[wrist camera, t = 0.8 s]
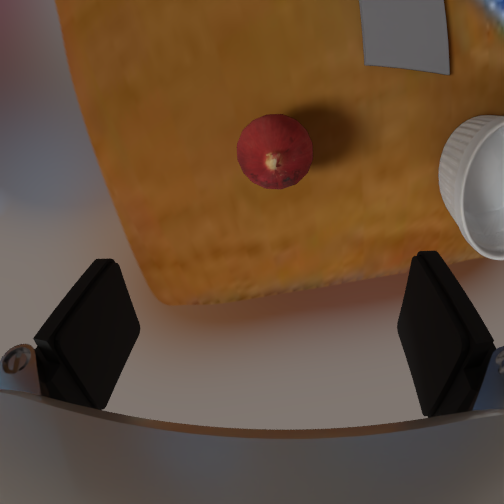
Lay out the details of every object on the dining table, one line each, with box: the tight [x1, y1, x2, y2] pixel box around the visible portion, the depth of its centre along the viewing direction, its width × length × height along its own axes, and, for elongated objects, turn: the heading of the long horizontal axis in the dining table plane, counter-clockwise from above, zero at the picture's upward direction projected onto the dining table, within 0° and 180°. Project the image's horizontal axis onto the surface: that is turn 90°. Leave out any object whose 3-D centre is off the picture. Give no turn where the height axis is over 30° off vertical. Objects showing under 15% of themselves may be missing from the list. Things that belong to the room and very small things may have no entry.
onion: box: [237, 114, 313, 189], centre depth 24 cm, size 6×6×8 cm
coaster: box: [359, 0, 450, 75], centre depth 20 cm, size 8×8×1 cm
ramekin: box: [438, 115, 504, 260], centre depth 23 cm, size 13×13×7 cm
